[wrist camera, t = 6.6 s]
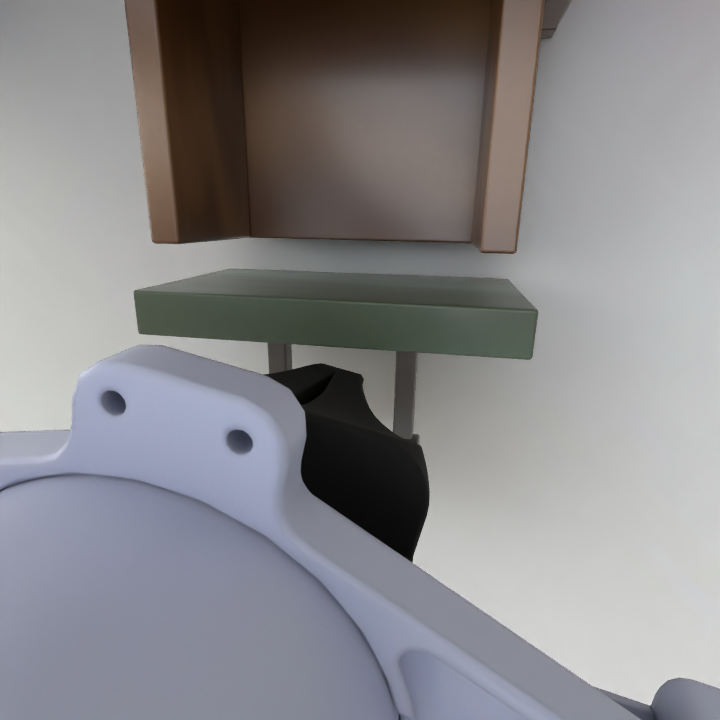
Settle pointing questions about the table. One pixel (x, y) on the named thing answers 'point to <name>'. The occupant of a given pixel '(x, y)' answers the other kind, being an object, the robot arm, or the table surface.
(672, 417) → the table surface
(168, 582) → the robot arm
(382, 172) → the drawer
